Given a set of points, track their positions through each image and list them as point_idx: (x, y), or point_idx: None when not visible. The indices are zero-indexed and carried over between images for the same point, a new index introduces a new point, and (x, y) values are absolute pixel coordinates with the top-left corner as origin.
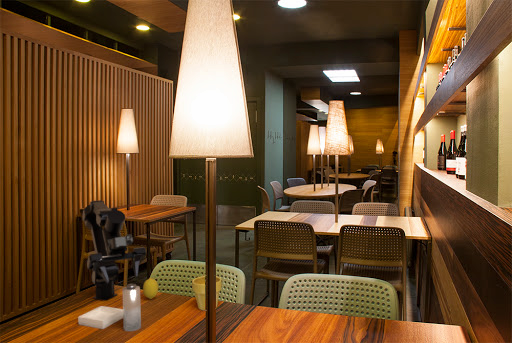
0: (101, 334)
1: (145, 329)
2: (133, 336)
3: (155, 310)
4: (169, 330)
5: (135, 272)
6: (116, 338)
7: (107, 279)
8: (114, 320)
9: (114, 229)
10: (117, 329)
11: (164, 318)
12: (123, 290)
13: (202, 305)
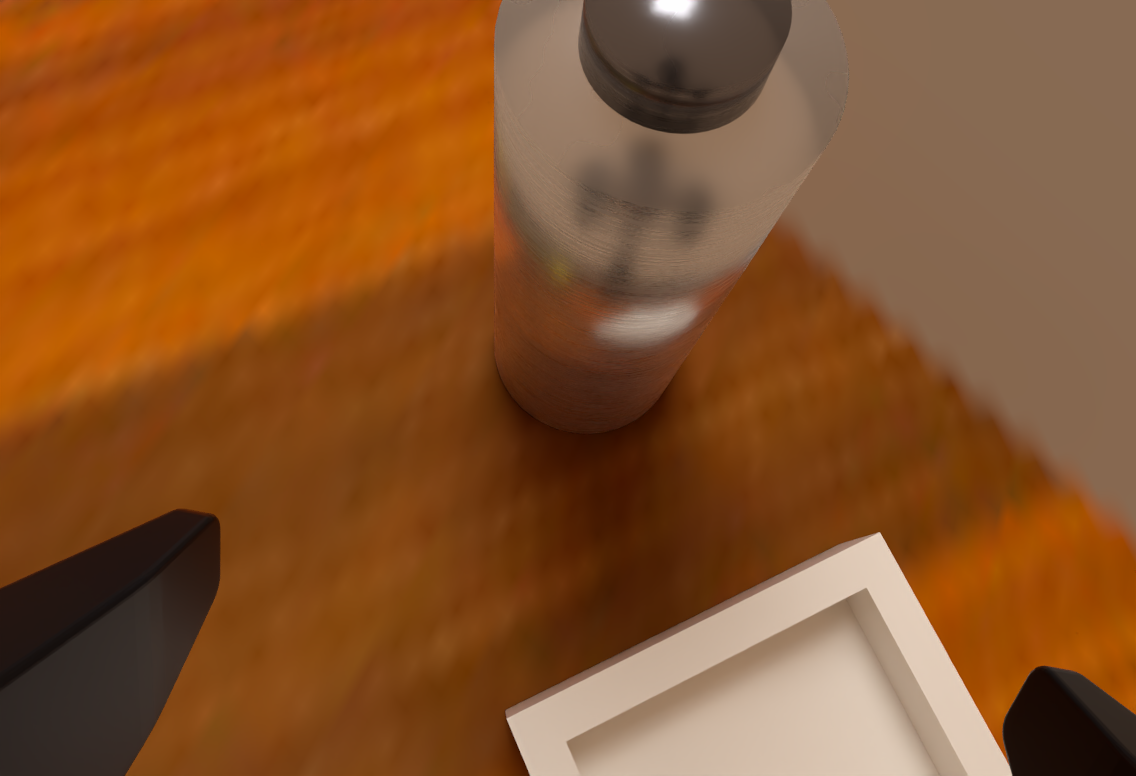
0: (890, 426)
1: None
2: None
3: None
4: (357, 40)
5: (137, 608)
6: (803, 240)
7: (1121, 710)
8: (680, 626)
9: None
10: (720, 421)
11: (198, 307)
12: (845, 55)
13: None
